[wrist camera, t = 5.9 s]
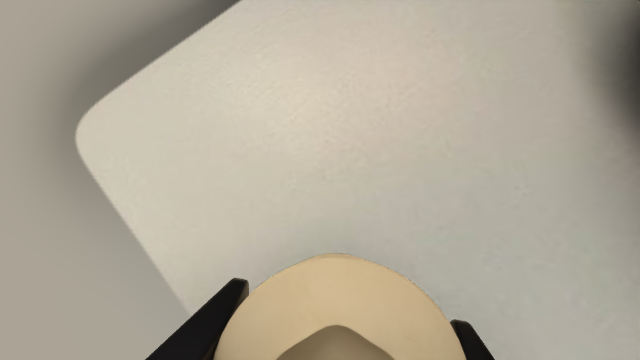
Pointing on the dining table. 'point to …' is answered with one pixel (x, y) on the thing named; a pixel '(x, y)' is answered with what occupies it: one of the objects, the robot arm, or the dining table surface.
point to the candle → (338, 316)
